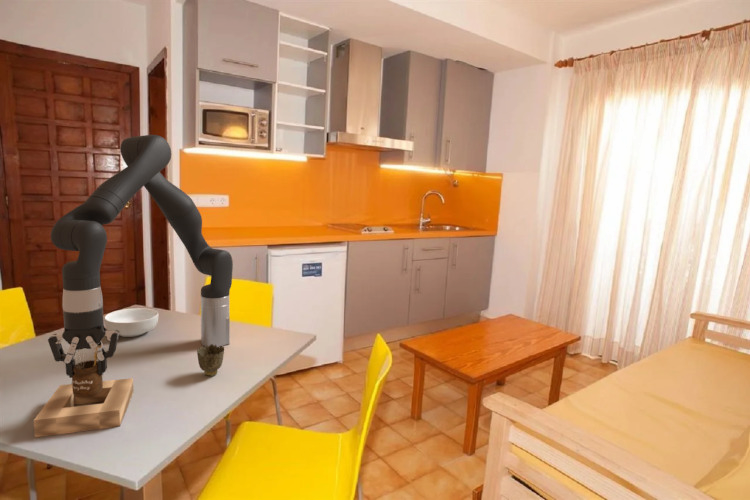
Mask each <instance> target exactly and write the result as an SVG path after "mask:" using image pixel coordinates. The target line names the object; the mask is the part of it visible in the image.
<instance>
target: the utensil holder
mask: <svg viewBox="0 0 750 500" xmlns="http://www.w3.org/2000/svg"><path fill="white" fill-rule="evenodd" d="M98 347H99V346H98ZM98 347H96V351H95V353H94V355H93V359H94V360H93V359H91V360H90V359H89V360H87V359H84V360H83V361H82V360H80V361H79V362H78V361H77V356H76V354H75V356H73V357H74V359H75V362H77V363H75V366H74V368H73V372H74V374H73V377H72V378H71V384H72V388H73V394H74V396H76V397H79V398H84V397H90V396H93V395H96V394H98V393H99V392H101V390H102V388H103V381H104V380H103V375H99V373H98V357H97V355H96V354H97V348H98ZM100 348H101V345H100ZM81 351H82V355H83V358H86V352H85V350H84V349H81ZM77 352H78V355H81V354H80V351H79V350H77ZM79 359H82V357H81V356H79Z"/></svg>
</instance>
